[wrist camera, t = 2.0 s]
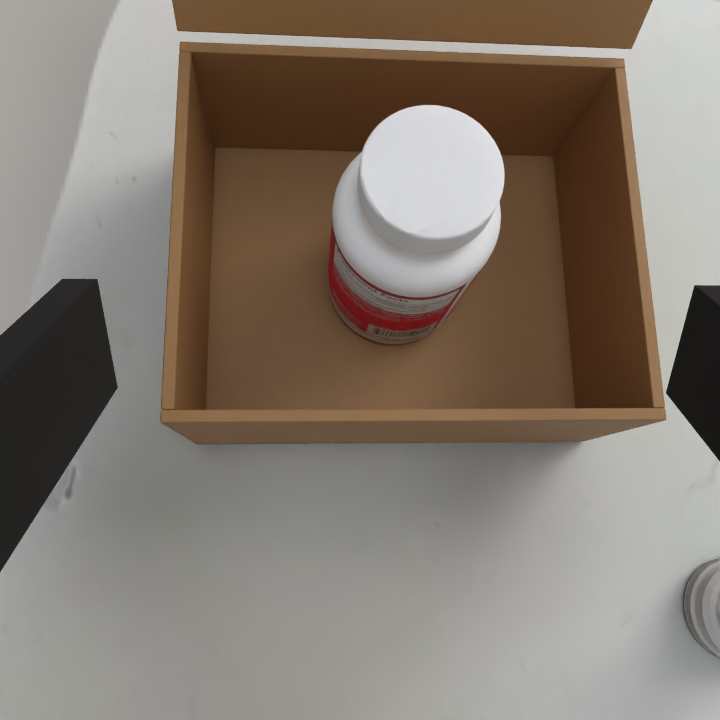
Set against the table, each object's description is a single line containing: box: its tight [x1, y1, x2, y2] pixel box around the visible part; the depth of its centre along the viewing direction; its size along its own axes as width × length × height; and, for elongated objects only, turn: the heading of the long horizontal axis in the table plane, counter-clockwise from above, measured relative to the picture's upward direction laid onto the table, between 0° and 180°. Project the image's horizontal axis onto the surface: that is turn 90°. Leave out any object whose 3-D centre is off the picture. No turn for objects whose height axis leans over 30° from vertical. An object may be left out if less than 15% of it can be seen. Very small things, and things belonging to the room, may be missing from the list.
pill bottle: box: [328, 105, 505, 344], centre depth 26 cm, size 6×6×11 cm
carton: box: [160, 42, 666, 444], centre depth 28 cm, size 18×15×7 cm
